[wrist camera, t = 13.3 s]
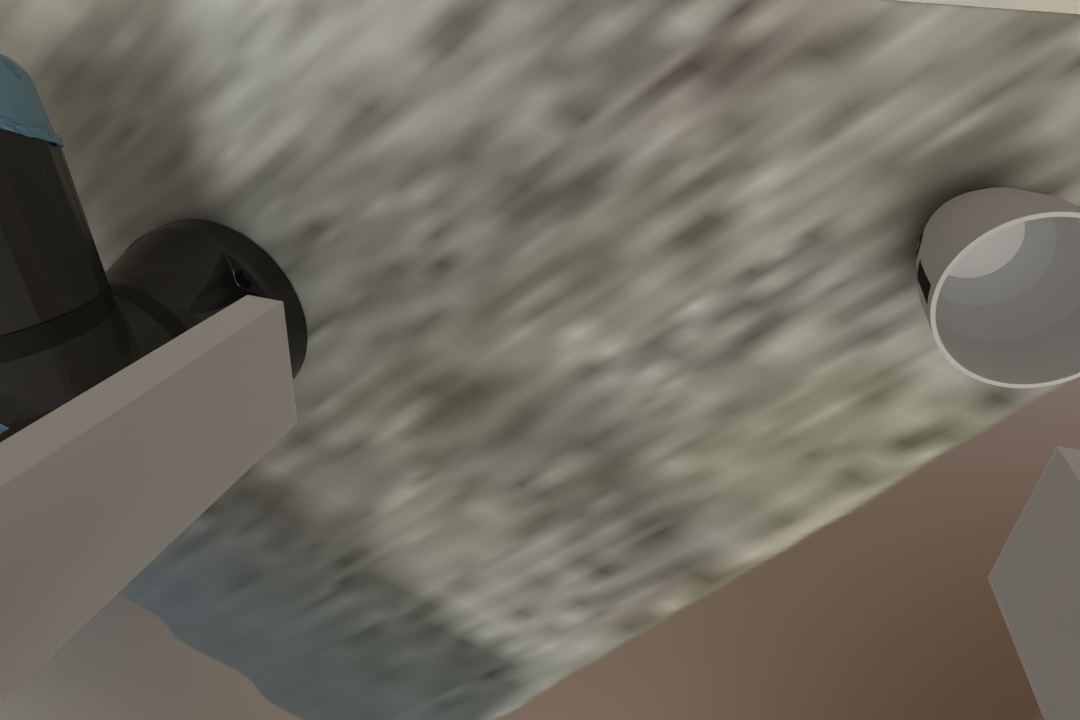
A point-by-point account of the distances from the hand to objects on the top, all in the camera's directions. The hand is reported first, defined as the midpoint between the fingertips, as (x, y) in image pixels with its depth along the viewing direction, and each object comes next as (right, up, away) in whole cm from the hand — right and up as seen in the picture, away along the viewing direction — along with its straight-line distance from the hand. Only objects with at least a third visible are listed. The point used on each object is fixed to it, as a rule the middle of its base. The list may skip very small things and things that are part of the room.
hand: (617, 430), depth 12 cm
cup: (+23, +8, +26) cm, 35 cm away
